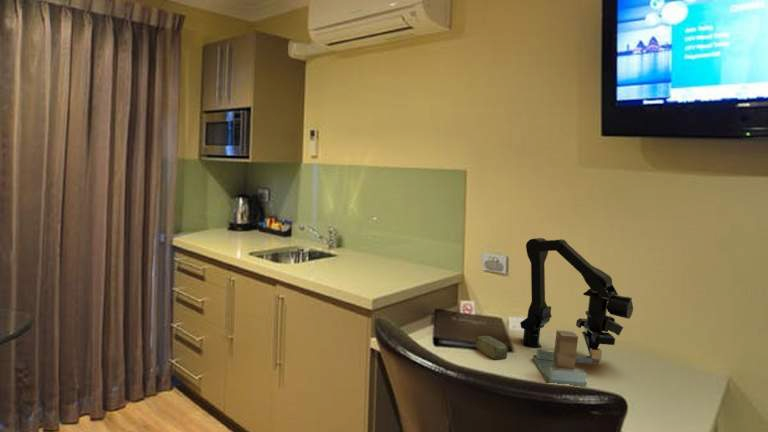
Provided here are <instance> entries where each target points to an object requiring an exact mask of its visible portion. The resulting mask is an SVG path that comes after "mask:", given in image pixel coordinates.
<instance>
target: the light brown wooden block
mask: <svg viewBox="0 0 768 432" xmlns="http://www.w3.org/2000/svg"><path fill="white" fill-rule="evenodd" d="M602 352H603V350H602V349H601V348H599V347H598V348H590V354H589V355H579V354H578V355H577V354H576V359H575V363H581V364H592V365H593V364H594V365H601V361H602V359H601V358H602ZM535 355H536V357H537V358H538V359H547V360H553V357H554V349H544V348H536V354H535Z"/></svg>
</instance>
